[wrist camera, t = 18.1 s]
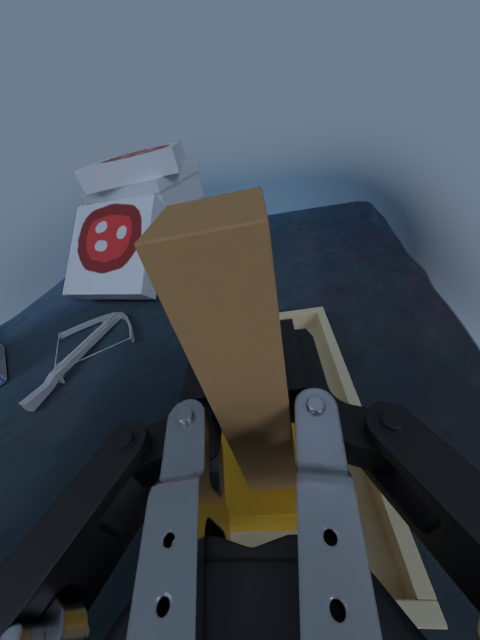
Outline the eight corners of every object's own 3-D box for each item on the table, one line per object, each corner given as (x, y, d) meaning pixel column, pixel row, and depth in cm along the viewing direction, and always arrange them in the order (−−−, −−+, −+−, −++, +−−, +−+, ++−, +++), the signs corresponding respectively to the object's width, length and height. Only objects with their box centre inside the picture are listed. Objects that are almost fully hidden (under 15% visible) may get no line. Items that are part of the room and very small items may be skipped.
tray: (429, 627, 12) (449, 629, 10) (177, 619, 14) (156, 620, 12) (322, 325, 28) (322, 306, 27) (214, 339, 30) (208, 322, 28)
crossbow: (91, 319, 40) (84, 309, 39) (157, 321, 37) (152, 309, 35) (-8, 404, 28) (-22, 393, 27) (75, 420, 25) (63, 408, 23)
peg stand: (349, 529, 13) (469, 211, 3) (218, 532, 14) (-30, 296, 4) (327, 441, 16) (348, 158, 6) (223, 448, 17) (100, 210, 7)
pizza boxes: (69, 313, 42) (-24, 199, 30) (156, 237, 63) (121, 153, 52) (166, 316, 36) (97, 174, 24) (227, 230, 57) (205, 134, 45)
